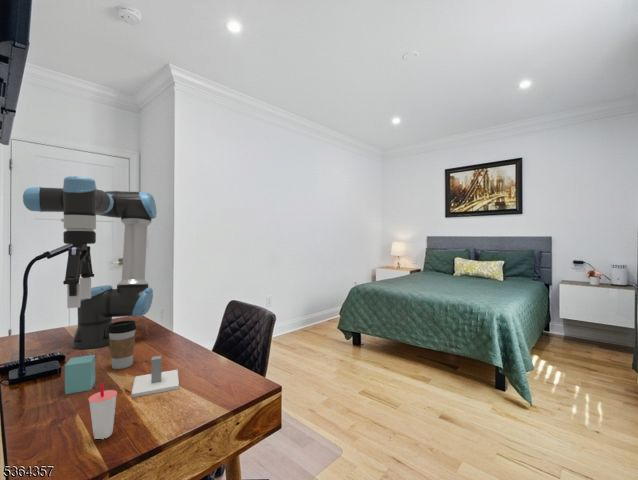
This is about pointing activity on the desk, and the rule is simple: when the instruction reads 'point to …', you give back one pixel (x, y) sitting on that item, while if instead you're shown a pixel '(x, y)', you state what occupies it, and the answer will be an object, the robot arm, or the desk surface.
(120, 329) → the coffee cup
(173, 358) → the desk surface
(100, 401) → the cup
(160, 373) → the post stand
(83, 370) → the teal rectangular block
